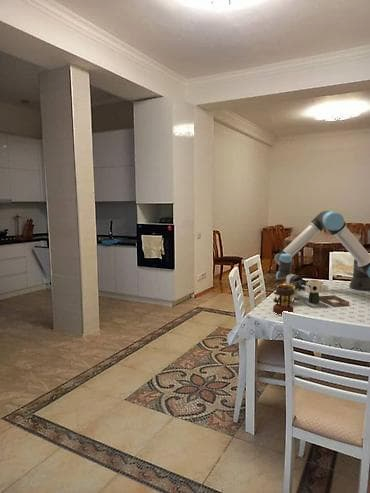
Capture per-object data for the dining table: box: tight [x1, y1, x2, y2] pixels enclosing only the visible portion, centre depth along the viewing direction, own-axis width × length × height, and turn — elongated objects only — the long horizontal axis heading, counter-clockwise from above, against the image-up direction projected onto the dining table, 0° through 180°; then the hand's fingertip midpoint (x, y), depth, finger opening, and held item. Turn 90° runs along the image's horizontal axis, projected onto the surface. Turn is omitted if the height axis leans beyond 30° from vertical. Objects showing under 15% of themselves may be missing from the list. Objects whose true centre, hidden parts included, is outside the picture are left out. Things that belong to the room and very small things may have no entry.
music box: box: [272, 277, 301, 316], centre depth 187 cm, size 15×11×20 cm
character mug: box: [306, 279, 325, 303], centre depth 205 cm, size 11×7×13 cm, turn 43°
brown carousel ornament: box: [276, 283, 296, 304], centre depth 207 cm, size 10×10×10 cm
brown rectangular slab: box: [319, 294, 350, 307], centre depth 208 cm, size 11×15×2 cm
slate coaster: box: [299, 298, 329, 308], centre depth 206 cm, size 10×14×1 cm
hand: (318, 288), depth 201 cm, fingers open, 13 cm apart
